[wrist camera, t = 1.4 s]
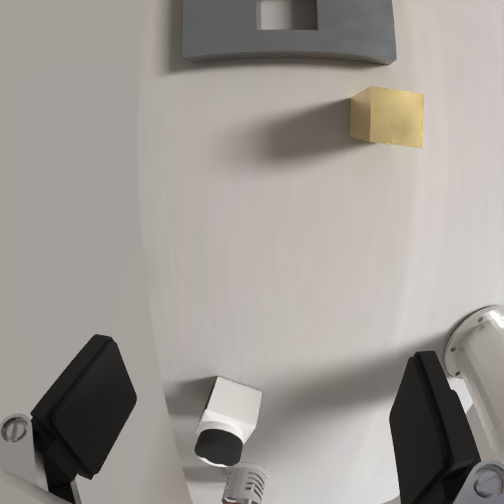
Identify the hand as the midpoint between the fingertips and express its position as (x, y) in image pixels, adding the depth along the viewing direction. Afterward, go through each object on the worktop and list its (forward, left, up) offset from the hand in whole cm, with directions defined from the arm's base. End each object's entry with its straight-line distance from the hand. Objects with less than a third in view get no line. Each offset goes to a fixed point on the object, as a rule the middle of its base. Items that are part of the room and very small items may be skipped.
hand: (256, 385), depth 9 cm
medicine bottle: (+7, +30, -26) cm, 41 cm away
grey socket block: (0, -20, -26) cm, 32 cm away
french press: (+5, +58, -26) cm, 63 cm away
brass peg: (-8, -8, -26) cm, 28 cm away
